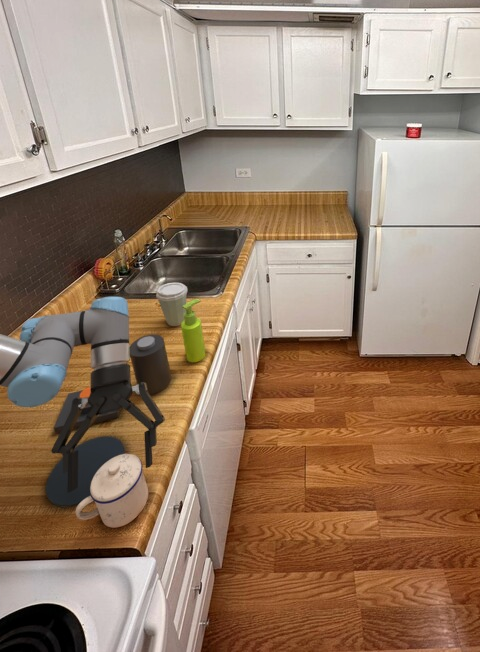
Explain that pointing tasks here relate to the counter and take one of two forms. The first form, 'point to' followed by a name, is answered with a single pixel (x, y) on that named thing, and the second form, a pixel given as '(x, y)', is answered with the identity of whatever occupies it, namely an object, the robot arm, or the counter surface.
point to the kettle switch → (85, 393)
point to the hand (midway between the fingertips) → (112, 478)
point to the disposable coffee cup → (172, 302)
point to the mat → (82, 470)
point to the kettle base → (67, 409)
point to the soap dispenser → (192, 334)
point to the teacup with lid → (117, 491)
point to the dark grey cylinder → (151, 363)
